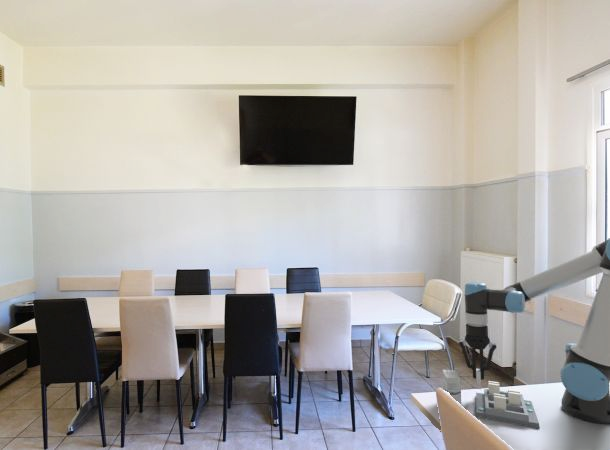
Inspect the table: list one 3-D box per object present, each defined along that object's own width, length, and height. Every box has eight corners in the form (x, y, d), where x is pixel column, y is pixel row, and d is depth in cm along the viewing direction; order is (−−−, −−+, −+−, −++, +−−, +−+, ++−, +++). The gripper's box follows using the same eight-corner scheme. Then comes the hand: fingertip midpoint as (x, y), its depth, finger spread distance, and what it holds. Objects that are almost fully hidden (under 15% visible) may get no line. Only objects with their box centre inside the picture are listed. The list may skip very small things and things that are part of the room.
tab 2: (505, 411, 122) (505, 394, 122) (506, 415, 119) (505, 398, 119) (494, 409, 123) (493, 392, 124) (494, 413, 120) (494, 396, 121)
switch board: (531, 405, 129) (531, 395, 129) (539, 428, 114) (538, 417, 114) (476, 396, 137) (476, 387, 137) (476, 416, 121) (476, 406, 122)
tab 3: (519, 406, 125) (519, 390, 125) (521, 411, 122) (520, 394, 122) (508, 405, 126) (507, 388, 126) (509, 409, 123) (508, 392, 124)
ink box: (462, 413, 124) (461, 378, 125) (447, 411, 125) (446, 377, 126) (456, 401, 133) (455, 369, 133) (442, 400, 134) (442, 369, 134)
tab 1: (499, 397, 132) (498, 382, 133) (499, 401, 129) (499, 385, 130) (488, 395, 134) (488, 380, 134) (489, 399, 131) (488, 383, 131)
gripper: (495, 323, 135) (497, 386, 134) (458, 320, 141) (460, 381, 140) (496, 327, 129) (499, 394, 128) (457, 324, 134) (459, 388, 133)
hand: (478, 387), depth 134 cm, fingers closed
